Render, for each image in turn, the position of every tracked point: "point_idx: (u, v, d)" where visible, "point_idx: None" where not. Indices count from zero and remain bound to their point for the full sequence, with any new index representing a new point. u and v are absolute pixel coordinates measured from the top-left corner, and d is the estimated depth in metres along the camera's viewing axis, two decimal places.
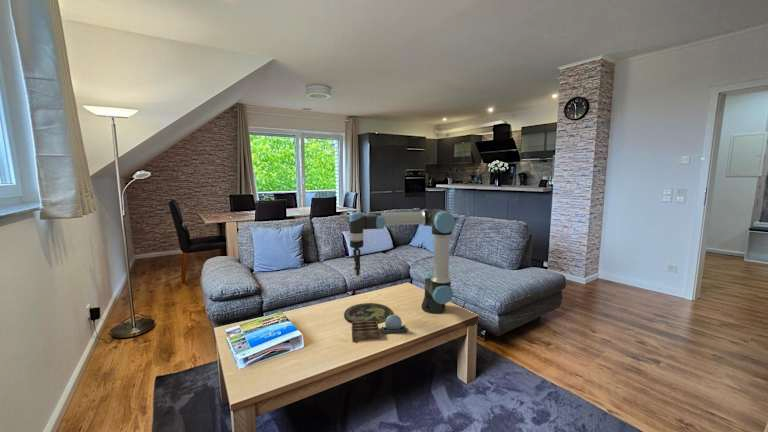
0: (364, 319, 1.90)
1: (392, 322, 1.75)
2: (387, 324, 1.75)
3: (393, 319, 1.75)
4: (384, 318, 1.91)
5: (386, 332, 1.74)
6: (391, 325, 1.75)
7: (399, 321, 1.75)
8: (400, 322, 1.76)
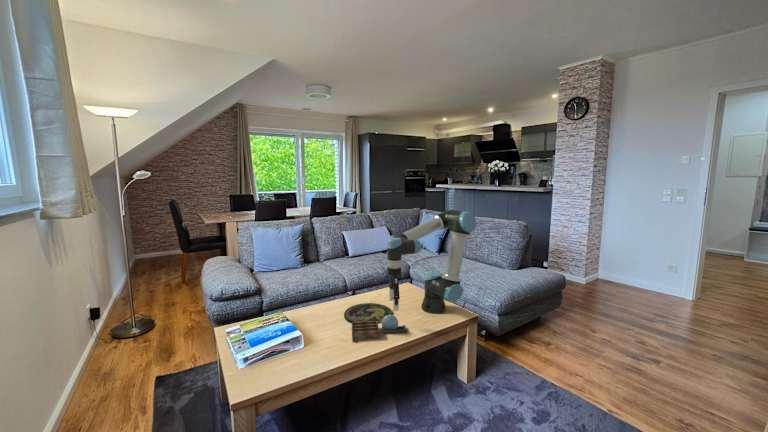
0: (364, 319, 1.90)
1: (388, 323, 1.75)
2: (384, 327, 1.75)
3: (388, 320, 1.75)
4: None
5: (386, 332, 1.74)
6: (388, 326, 1.75)
7: (394, 319, 1.75)
8: (396, 320, 1.75)
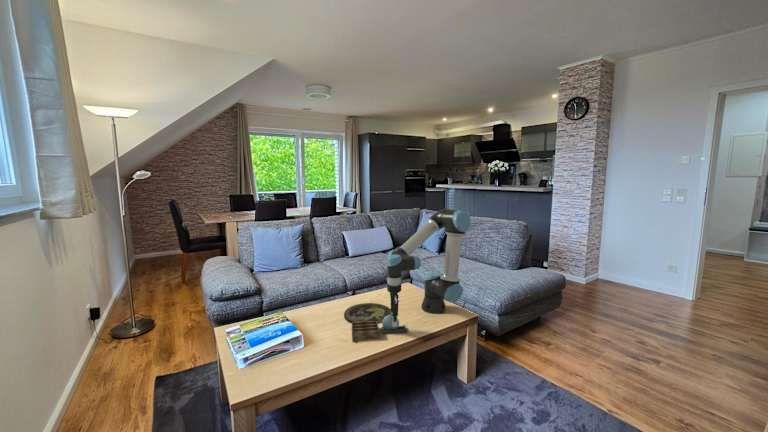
0: (364, 319, 1.90)
1: (389, 323, 1.75)
2: (385, 326, 1.75)
3: (389, 320, 1.75)
4: None
5: (386, 332, 1.74)
6: (389, 326, 1.75)
7: None
8: (397, 320, 1.75)
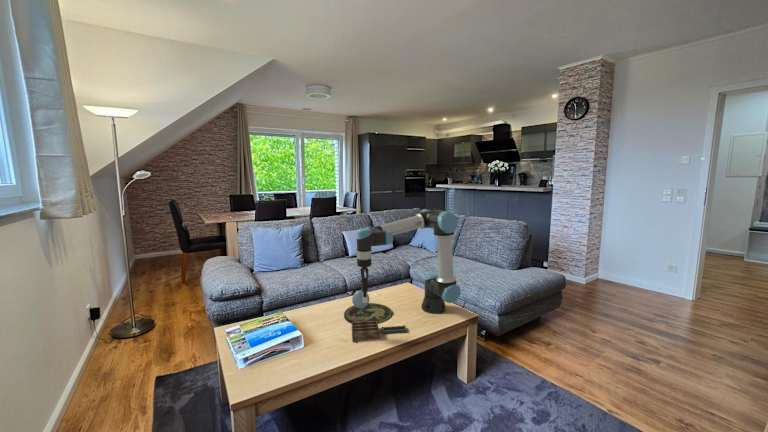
0: (364, 319, 1.90)
1: (359, 299, 1.70)
2: (354, 302, 1.70)
3: (359, 295, 1.69)
4: (384, 318, 1.91)
5: (386, 332, 1.74)
6: (359, 302, 1.70)
7: None
8: (367, 296, 1.70)
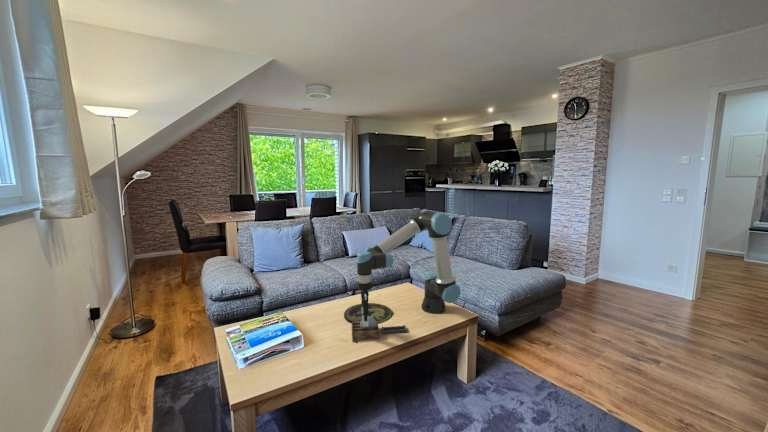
0: None
1: (368, 324, 1.72)
2: (362, 323, 1.72)
3: (370, 321, 1.72)
4: (384, 318, 1.91)
5: (386, 332, 1.74)
6: None
7: (374, 326, 1.73)
8: None
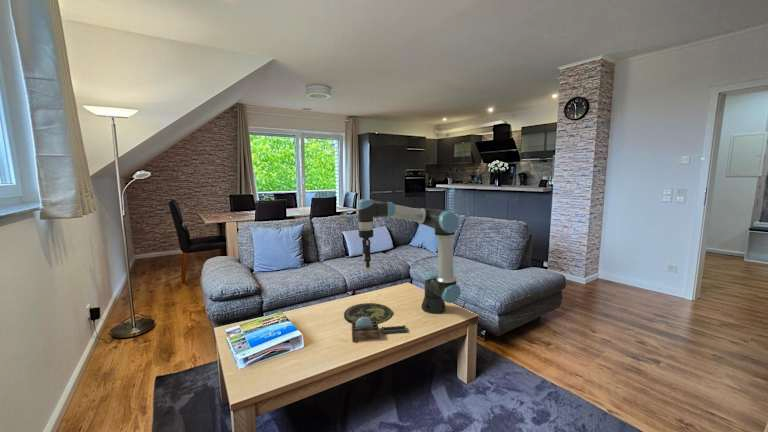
0: None
1: (362, 325, 1.72)
2: (357, 327, 1.72)
3: (363, 322, 1.72)
4: (384, 318, 1.91)
5: (386, 332, 1.74)
6: None
7: (370, 323, 1.72)
8: (371, 324, 1.72)
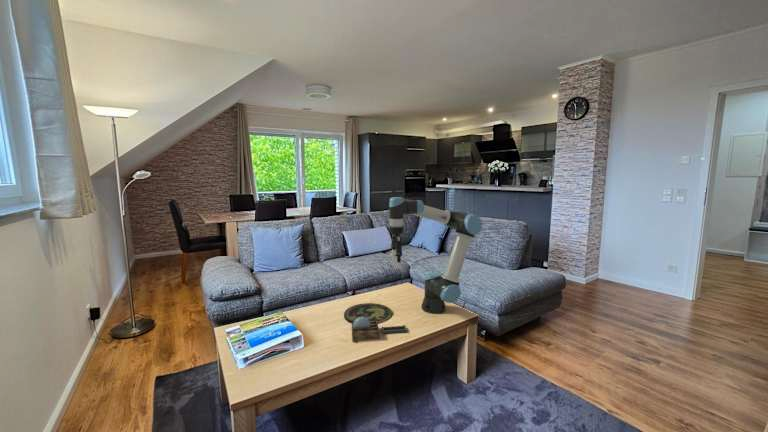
0: None
1: (360, 325, 1.72)
2: None
3: (360, 322, 1.71)
4: (384, 318, 1.91)
5: (386, 332, 1.74)
6: None
7: (366, 322, 1.72)
8: (368, 323, 1.72)
